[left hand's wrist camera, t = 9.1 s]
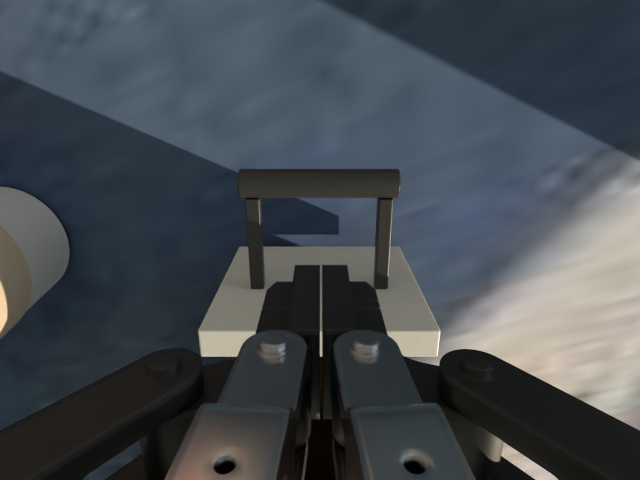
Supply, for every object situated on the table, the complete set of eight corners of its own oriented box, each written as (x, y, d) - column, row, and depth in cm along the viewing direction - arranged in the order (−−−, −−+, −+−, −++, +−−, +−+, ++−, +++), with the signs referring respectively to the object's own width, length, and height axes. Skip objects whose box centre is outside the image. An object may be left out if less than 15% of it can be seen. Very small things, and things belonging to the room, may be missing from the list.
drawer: (232, 150, 22) (180, 190, 14) (406, 150, 22) (457, 190, 14) (256, 492, 31) (233, 642, 23) (382, 492, 31) (405, 642, 23)
